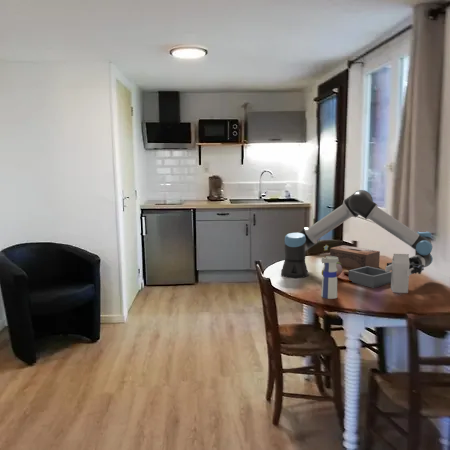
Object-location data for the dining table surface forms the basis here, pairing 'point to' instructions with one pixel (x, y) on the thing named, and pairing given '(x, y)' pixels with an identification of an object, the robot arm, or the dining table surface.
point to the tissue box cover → (356, 256)
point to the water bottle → (329, 277)
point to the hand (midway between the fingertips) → (396, 271)
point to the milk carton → (400, 273)
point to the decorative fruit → (338, 269)
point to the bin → (370, 276)
